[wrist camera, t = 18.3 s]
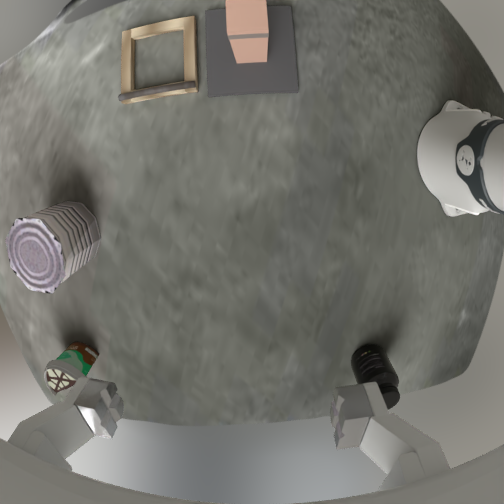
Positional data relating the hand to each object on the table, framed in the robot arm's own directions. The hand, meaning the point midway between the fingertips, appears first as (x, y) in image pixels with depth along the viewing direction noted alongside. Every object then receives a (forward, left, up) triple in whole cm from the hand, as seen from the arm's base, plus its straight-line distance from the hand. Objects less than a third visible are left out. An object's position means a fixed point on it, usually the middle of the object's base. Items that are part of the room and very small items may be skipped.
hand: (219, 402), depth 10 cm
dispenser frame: (+12, -23, -34) cm, 43 cm away
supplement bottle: (-20, +28, -34) cm, 49 cm away
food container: (+38, +27, -34) cm, 58 cm away
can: (+30, +2, -34) cm, 46 cm away
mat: (-1, -23, -34) cm, 41 cm away
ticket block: (-1, -23, -33) cm, 40 cm away
